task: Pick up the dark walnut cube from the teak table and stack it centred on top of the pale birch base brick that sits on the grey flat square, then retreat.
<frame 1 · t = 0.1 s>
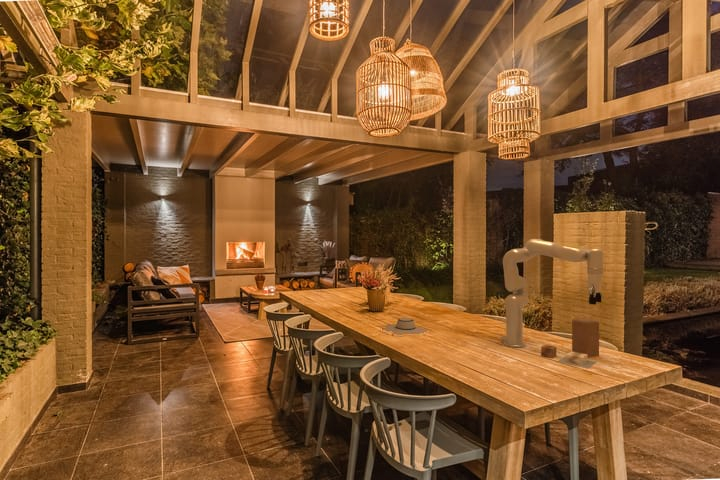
hand: (595, 303, 215), 31 cm above the table, fingers open, 9 cm apart
sun hat: (405, 331, 288), on the table
wooden block: (585, 355, 225), on the table
walnut cube: (548, 357, 221), on the table
birch base brick: (576, 361, 210), point 1 cm above the table, touching grey flat square
grey flat square: (576, 363, 210), on the table
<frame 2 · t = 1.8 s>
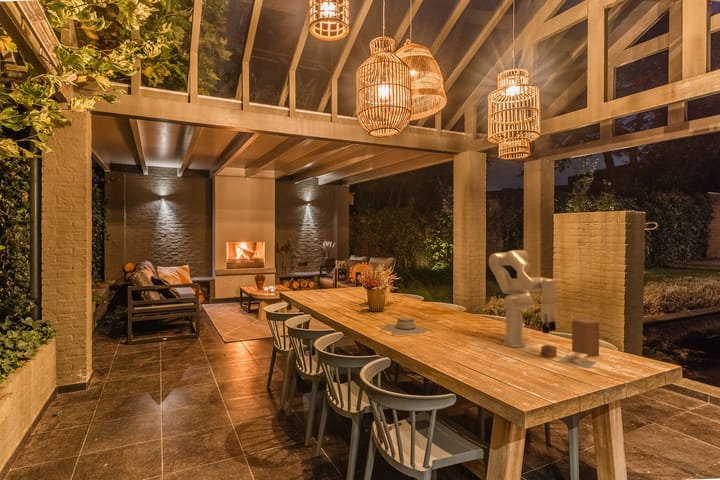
hand: (549, 331, 220), 14 cm above the table, fingers open, 9 cm apart
nothing on the table moved.
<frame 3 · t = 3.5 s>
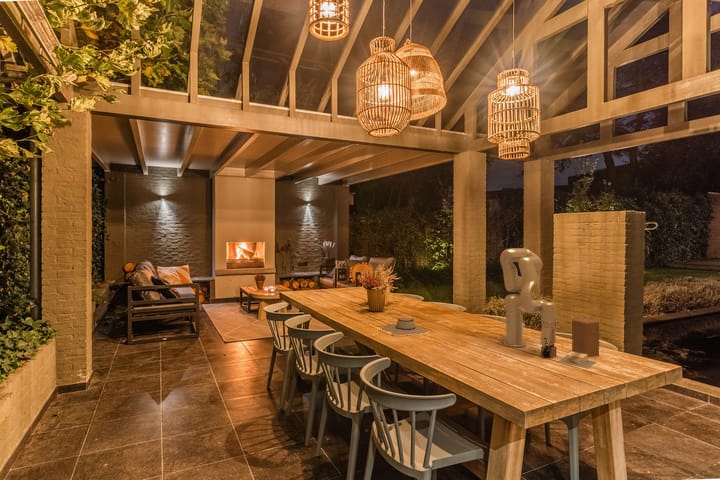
hand: (548, 356, 221), 1 cm above the table, fingers closed on walnut cube, 6 cm apart
walnut cube: (548, 357, 221), on the table, touching gripper
everything else where it was.
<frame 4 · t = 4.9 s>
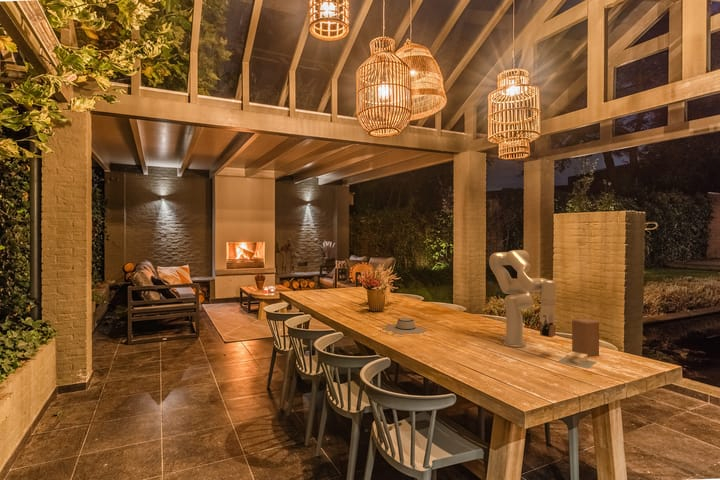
hand: (547, 334, 222), 13 cm above the table, fingers closed on walnut cube, 6 cm apart
walnut cube: (547, 335, 222), point 12 cm above the table, touching gripper
everything else where it was.
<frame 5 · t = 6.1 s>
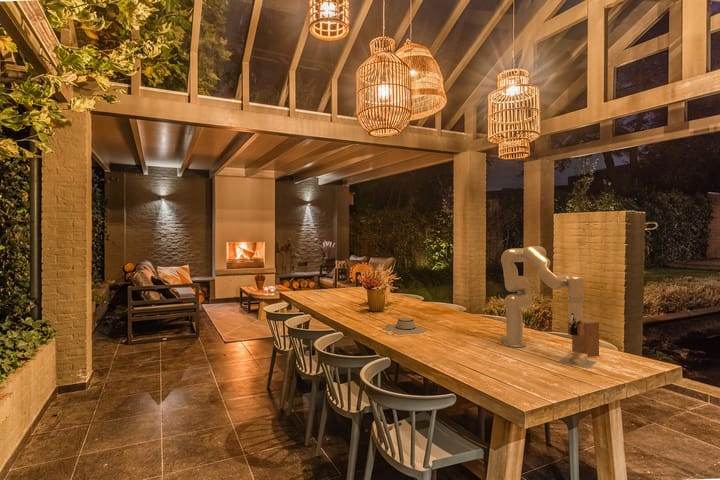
hand: (576, 333, 210), 16 cm above the table, fingers closed on walnut cube, 6 cm apart
walnut cube: (576, 334, 210), point 15 cm above the table, touching gripper
everything else where it was.
when the fingers open (7 cm above the table, at t = 8.6 s): walnut cube drops 1 cm, resting on birch base brick.
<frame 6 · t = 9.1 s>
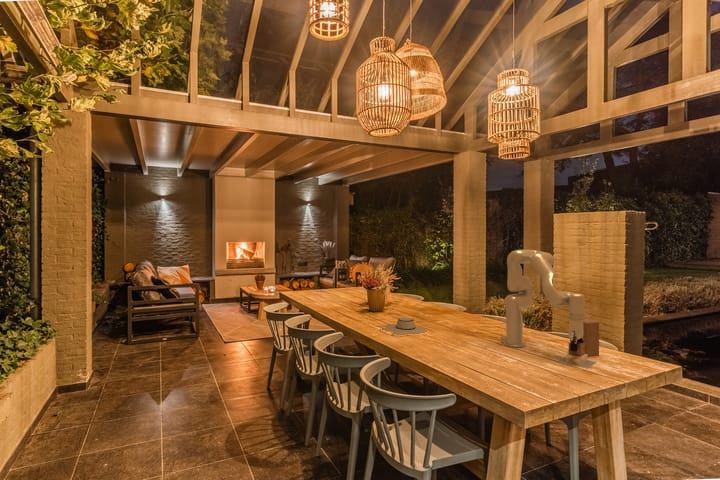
hand: (576, 349, 210), 8 cm above the table, fingers open, 9 cm apart
walnut cube: (576, 354, 210), point 5 cm above the table, touching birch base brick
birch base brick: (576, 361, 210), point 1 cm above the table, touching grey flat square, walnut cube
everything else where it was.
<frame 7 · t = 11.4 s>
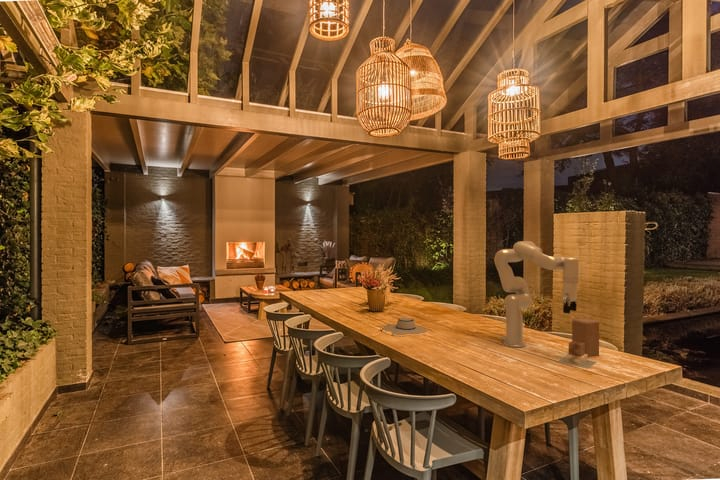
hand: (569, 311, 215), 27 cm above the table, fingers open, 9 cm apart
nothing on the table moved.
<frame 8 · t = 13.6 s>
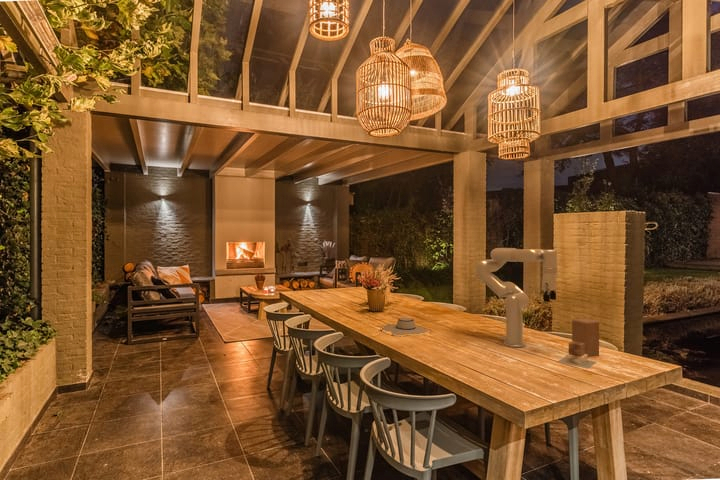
hand: (549, 300, 230), 30 cm above the table, fingers open, 9 cm apart
nothing on the table moved.
at the end: walnut cube 0.1 cm off-centre on the birch base brick, point 4.0 cm above the birch base brick's base; walnut cube tilted 0°; the gripper is holding nothing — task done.
